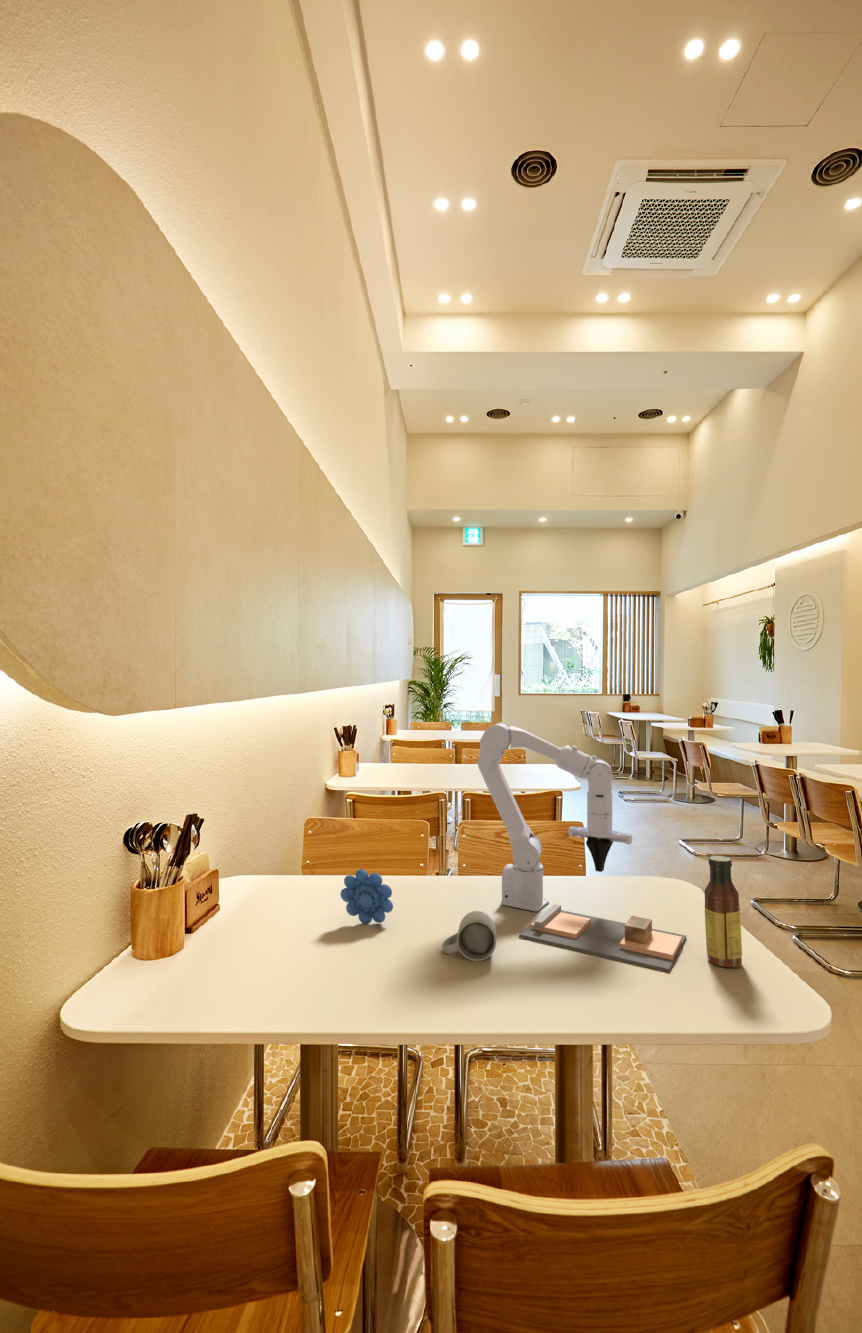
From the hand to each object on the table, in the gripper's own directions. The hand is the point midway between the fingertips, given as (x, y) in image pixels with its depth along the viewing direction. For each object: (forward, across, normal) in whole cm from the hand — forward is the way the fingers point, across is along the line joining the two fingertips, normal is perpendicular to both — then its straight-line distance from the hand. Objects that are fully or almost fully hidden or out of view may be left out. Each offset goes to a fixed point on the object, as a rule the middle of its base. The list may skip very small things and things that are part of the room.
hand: (599, 870), depth 147 cm
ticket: (+9, +4, +15) cm, 18 cm away
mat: (+9, -5, +15) cm, 18 cm away
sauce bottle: (+10, -28, +14) cm, 33 cm away
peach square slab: (+9, -15, +15) cm, 23 cm away
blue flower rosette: (+10, +41, +36) cm, 55 cm away
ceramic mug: (+10, +15, +36) cm, 40 cm away
